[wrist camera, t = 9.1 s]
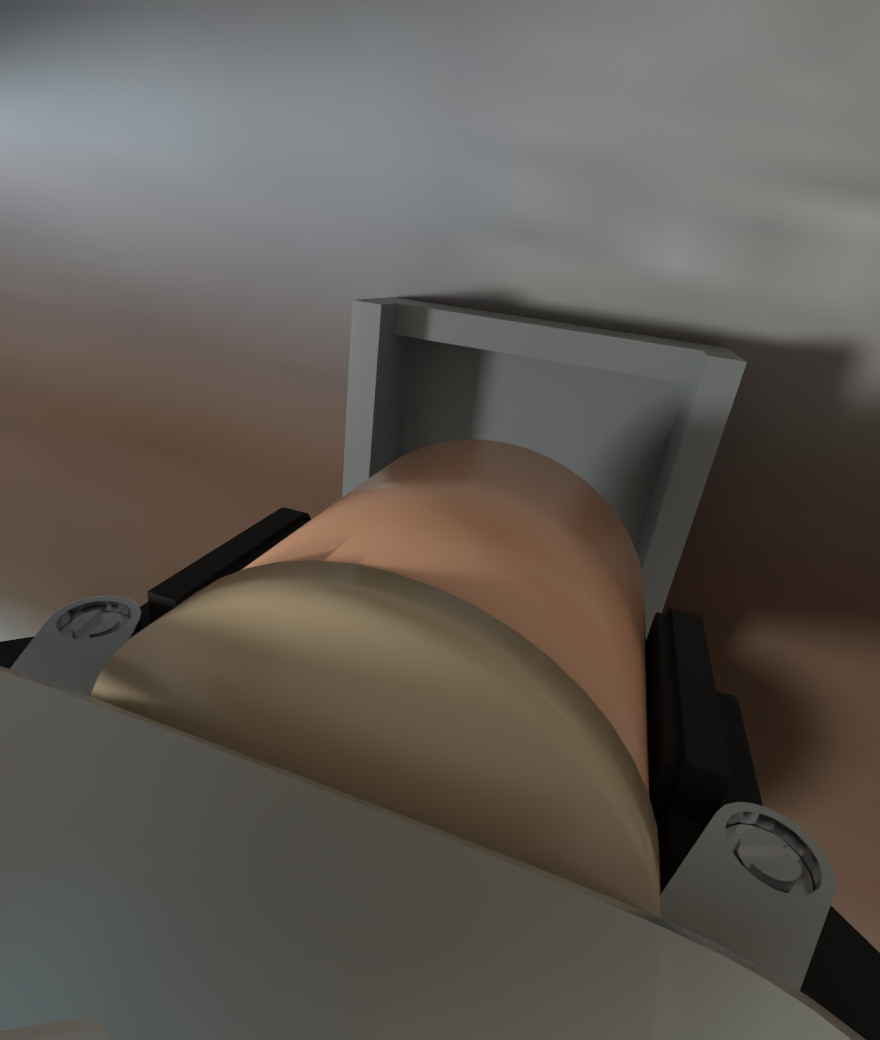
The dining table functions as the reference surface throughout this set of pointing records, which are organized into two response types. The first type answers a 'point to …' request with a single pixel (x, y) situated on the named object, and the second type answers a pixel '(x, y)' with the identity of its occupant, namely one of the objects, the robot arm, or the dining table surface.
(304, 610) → the terracotta jar
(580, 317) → the dining table surface
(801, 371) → the dining table surface
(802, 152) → the dining table surface
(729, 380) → the tray
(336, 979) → the robot arm
